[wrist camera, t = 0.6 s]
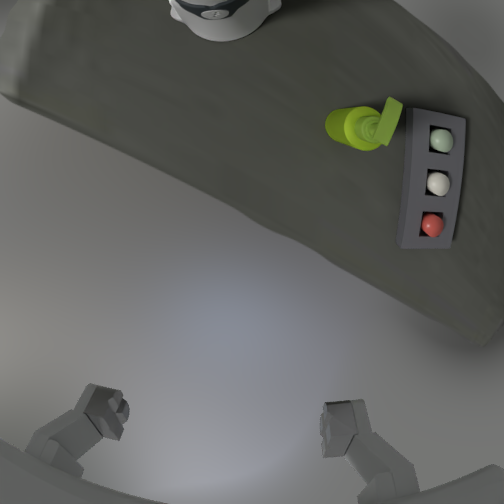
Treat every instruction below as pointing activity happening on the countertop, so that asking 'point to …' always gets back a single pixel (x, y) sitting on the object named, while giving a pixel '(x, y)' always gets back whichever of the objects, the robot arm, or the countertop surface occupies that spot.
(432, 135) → the button sage
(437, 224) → the button red
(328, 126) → the soap dispenser
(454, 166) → the console
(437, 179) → the button cream
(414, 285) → the countertop surface
